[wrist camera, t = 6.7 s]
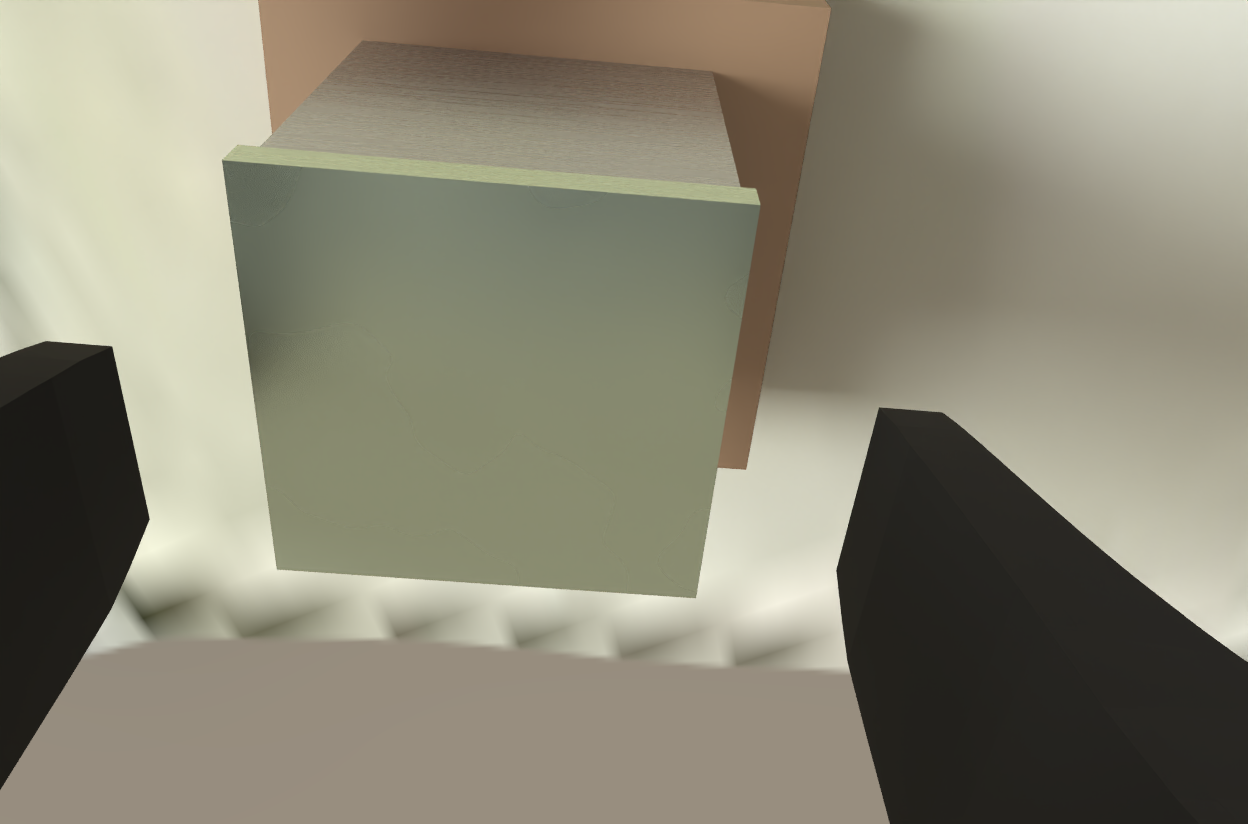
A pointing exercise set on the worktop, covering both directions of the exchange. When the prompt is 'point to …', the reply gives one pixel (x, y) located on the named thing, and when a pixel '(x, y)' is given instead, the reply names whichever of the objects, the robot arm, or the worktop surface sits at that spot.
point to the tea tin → (494, 317)
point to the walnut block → (620, 33)
